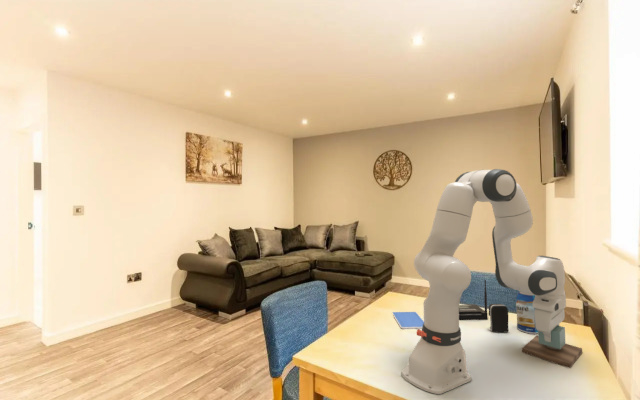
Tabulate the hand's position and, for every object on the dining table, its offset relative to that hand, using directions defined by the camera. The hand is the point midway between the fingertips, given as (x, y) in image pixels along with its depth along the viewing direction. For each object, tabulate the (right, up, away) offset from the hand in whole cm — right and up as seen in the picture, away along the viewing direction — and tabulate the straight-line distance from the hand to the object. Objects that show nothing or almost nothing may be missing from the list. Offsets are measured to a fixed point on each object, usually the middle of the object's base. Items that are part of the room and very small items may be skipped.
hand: (551, 337), depth 109 cm
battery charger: (-8, -6, +19) cm, 21 cm away
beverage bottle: (+5, -6, +19) cm, 20 cm away
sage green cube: (0, -2, 0) cm, 2 cm away
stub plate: (0, -5, 0) cm, 5 cm away
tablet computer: (-43, -8, +33) cm, 54 cm away
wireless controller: (-12, -7, +36) cm, 39 cm away
